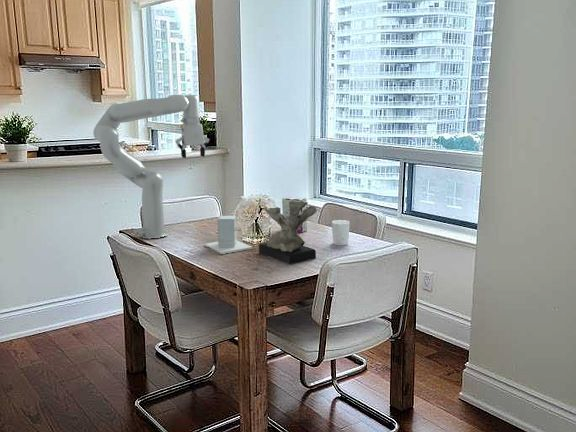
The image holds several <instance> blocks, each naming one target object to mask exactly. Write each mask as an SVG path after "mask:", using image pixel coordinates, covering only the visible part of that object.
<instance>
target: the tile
mask: <svg viewBox="0 0 576 432" xmlns="http://www.w3.org/2000/svg"><path fill="white" fill-rule="evenodd" d="M204 245H205V246H207V247H209V248H211V249H213V250H214V251H213V250H212V251H213V252H215V251H217V252H218V253H217V252H216V253H217V254H219V253H220V255H221V254H223V255H227V254H226V253H228V254H233V253H232V252H234V253H239V252H244V250H245V251H249V250H253V246H252V245H249V244H246V243H245V242H242V241H239V240H238V239H237V243H236V245H235V247H218V241H214V242H207V243H203V246H204ZM205 246H204V247H205ZM207 247H206V248H207ZM209 248H208V249H209ZM211 249H210V250H211ZM238 251H239V252H238Z"/></svg>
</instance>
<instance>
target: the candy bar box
mask: <svg viewBox="0 0 576 432" xmlns="http://www.w3.org/2000/svg"><path fill="white" fill-rule="evenodd" d="M291 201H293V202H307V198H305V197H293V196H286V197H283V198H282V201H281V203H282V204H281V205H282V215H283V216H284V217H285V218H286V219H287V217H286V216H289V215H290V208H289V207H290V206H289V204H290V203H289V202H291ZM305 209H308V208H307V205H306V206H305V207H303V208H302V209H301V210H300V212H299V214H298V215H301V214H302V213H303V211H304V210H305ZM307 219H308V218H307ZM307 219H306V221H304V222H303V223H302V224H301V225H300V226H299V228H298V230H297V233H298V234H299V233H300V234H303V233H305V232H307V231H308V229H307V228H308V227H307V226H308V225H307V221H308V220H307Z"/></svg>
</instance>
